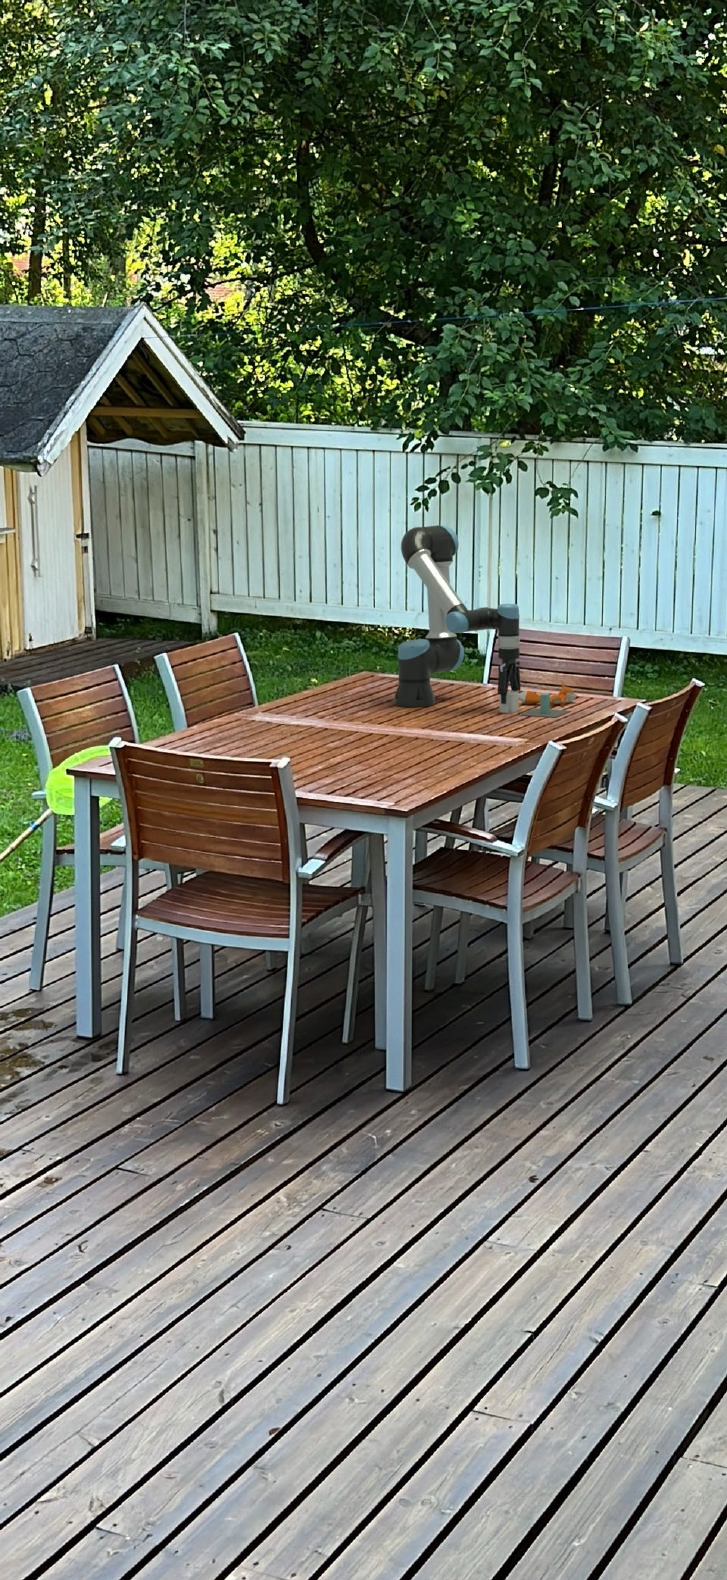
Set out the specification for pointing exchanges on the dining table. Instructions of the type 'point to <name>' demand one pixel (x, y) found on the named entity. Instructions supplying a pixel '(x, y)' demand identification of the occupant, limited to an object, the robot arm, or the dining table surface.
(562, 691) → the toy
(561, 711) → the mat
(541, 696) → the post
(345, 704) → the dining table surface
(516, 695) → the light grey block
